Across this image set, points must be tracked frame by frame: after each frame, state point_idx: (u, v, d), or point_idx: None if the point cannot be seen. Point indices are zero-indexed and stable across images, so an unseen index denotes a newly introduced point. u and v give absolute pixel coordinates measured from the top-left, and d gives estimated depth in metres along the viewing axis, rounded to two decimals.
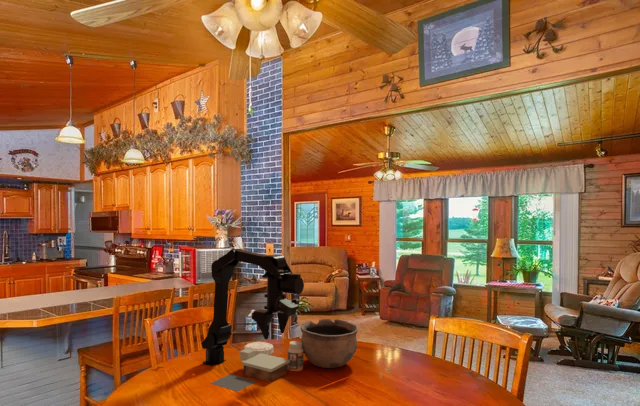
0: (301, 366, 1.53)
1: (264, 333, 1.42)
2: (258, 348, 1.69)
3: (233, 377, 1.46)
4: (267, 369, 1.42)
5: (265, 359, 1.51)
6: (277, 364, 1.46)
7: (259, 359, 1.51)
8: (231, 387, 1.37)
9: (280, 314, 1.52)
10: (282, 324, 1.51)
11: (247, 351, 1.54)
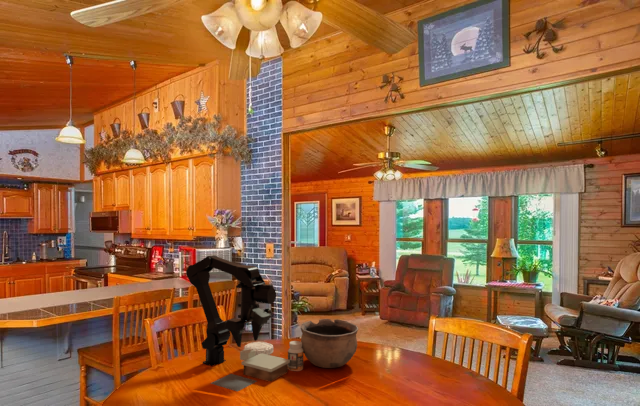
0: (301, 366, 1.53)
1: (237, 341, 1.50)
2: (258, 348, 1.69)
3: (233, 377, 1.46)
4: (267, 369, 1.42)
5: (265, 359, 1.51)
6: (277, 364, 1.46)
7: (259, 359, 1.51)
8: (231, 387, 1.37)
9: (254, 322, 1.59)
10: (255, 332, 1.58)
11: (247, 351, 1.54)
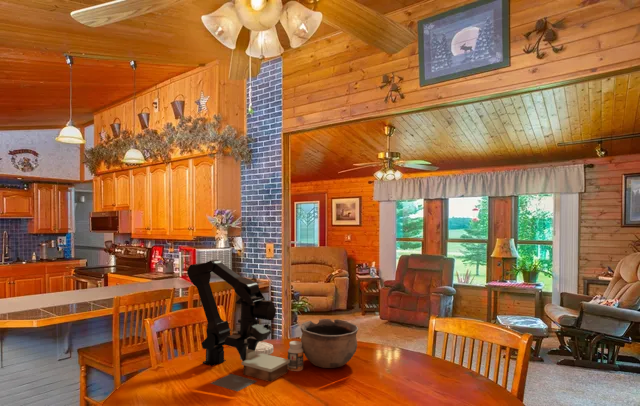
0: (301, 366, 1.53)
1: (242, 355, 1.52)
2: (258, 348, 1.69)
3: (233, 377, 1.46)
4: (267, 369, 1.42)
5: (265, 359, 1.51)
6: (277, 364, 1.46)
7: (259, 359, 1.51)
8: (231, 387, 1.37)
9: (249, 339, 1.57)
10: (251, 349, 1.56)
11: (247, 351, 1.54)
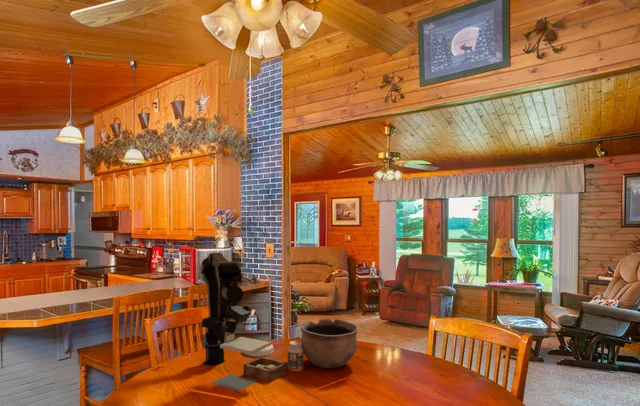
0: (301, 366, 1.53)
1: (220, 338, 1.44)
2: None
3: (233, 377, 1.46)
4: (247, 351, 1.35)
5: (245, 342, 1.44)
6: (257, 346, 1.39)
7: (239, 342, 1.43)
8: (231, 387, 1.37)
9: (228, 322, 1.49)
10: None
11: (226, 334, 1.46)
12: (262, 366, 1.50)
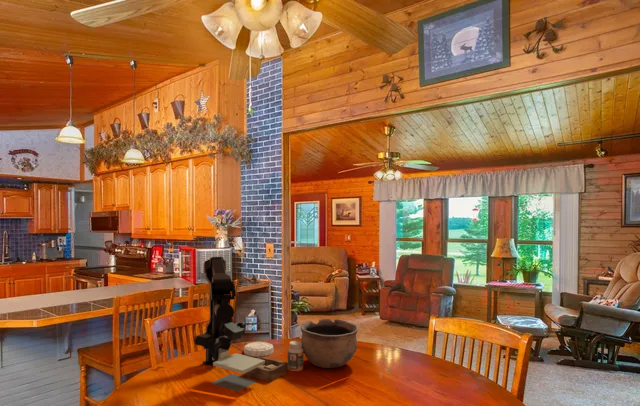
0: (301, 366, 1.53)
1: (214, 356, 1.43)
2: (258, 348, 1.69)
3: (233, 377, 1.46)
4: (239, 370, 1.33)
5: (239, 360, 1.42)
6: (250, 365, 1.37)
7: (232, 360, 1.42)
8: (231, 387, 1.37)
9: (223, 339, 1.48)
10: None
11: (220, 351, 1.45)
12: (262, 366, 1.50)
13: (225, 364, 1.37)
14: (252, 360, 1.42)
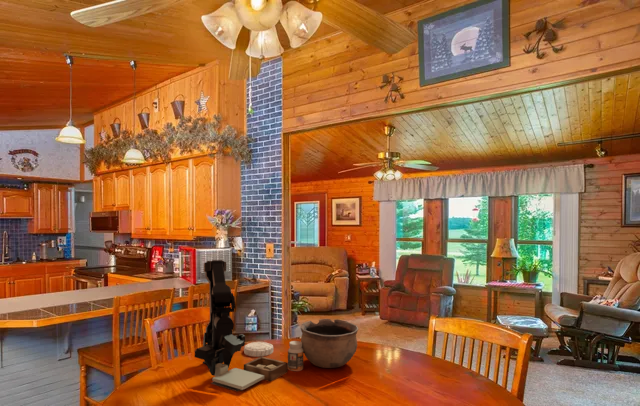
0: (301, 366, 1.53)
1: (211, 369, 1.41)
2: (258, 348, 1.69)
3: None
4: (238, 386, 1.33)
5: (238, 375, 1.42)
6: (250, 381, 1.37)
7: (232, 375, 1.41)
8: (231, 387, 1.37)
9: (225, 350, 1.49)
10: (226, 360, 1.48)
11: (220, 365, 1.45)
12: (262, 366, 1.50)
13: (224, 380, 1.37)
14: (251, 375, 1.41)
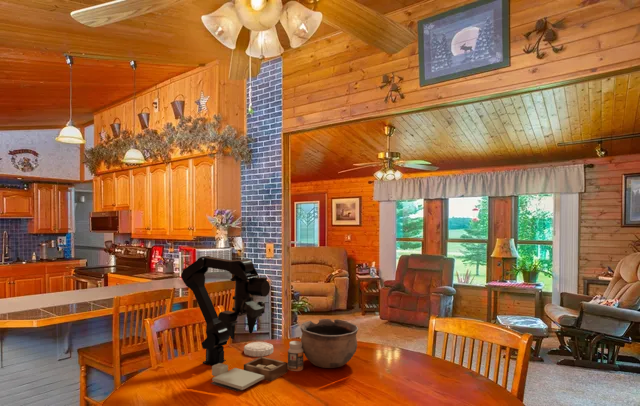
0: (301, 366, 1.53)
1: (230, 333, 1.51)
2: (258, 348, 1.69)
3: None
4: (238, 386, 1.33)
5: (238, 375, 1.42)
6: (250, 381, 1.37)
7: (232, 375, 1.41)
8: (231, 387, 1.37)
9: (249, 315, 1.61)
10: (250, 325, 1.59)
11: (220, 365, 1.45)
12: (262, 366, 1.50)
13: (224, 380, 1.37)
14: (251, 375, 1.41)
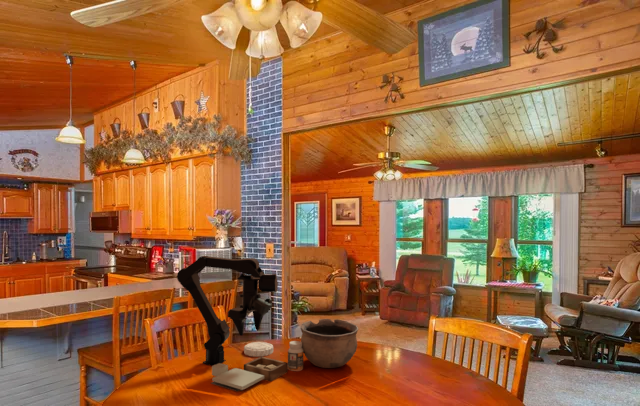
0: (301, 366, 1.53)
1: (239, 330, 1.56)
2: (258, 348, 1.69)
3: None
4: (238, 386, 1.33)
5: (238, 375, 1.42)
6: (250, 381, 1.37)
7: (232, 375, 1.41)
8: (231, 387, 1.37)
9: (255, 312, 1.65)
10: (257, 321, 1.64)
11: (220, 365, 1.45)
12: (262, 366, 1.50)
13: (224, 380, 1.37)
14: (251, 375, 1.41)
